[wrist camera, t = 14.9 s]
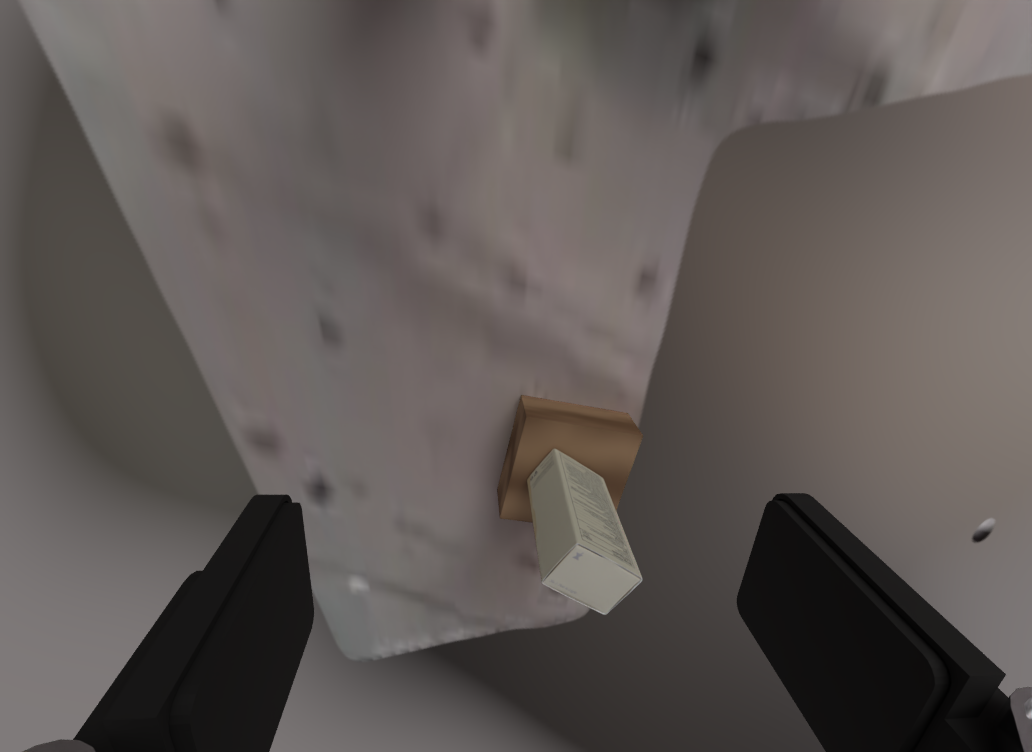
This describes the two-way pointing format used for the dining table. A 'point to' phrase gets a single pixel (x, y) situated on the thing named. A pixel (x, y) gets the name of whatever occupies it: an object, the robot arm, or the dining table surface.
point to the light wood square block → (565, 448)
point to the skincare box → (579, 534)
